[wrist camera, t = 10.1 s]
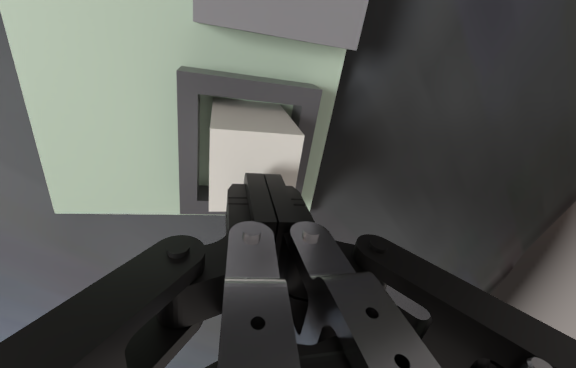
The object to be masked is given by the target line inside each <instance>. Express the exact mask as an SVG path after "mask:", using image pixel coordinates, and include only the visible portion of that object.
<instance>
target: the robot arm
mask: <svg viewBox="0 0 576 368" xmlns="http://www.w3.org/2000/svg"><path fill="white" fill-rule="evenodd" d="M387 285H389V286H390V287H392V288H394V289H395V290H397V291H398V292H400V293H402V294H403V295H405V296H406V297H408V298H410V299H411V300H413V301H415V302H416V303H418V304H419V305H421V306H423V307H424V308H425V309H427V310H428V312H429V313H430V315H431V317H430V318H429V319H428V320H419V319H417V318H415V317H414V316H412V315H411V314H409V313H408V312H406V311H405V310H403V309H401V308H400V307H398V306H397V305H396V304H395V303H394V301H393V300H392V298H391V297H390V296H389V294H388V293H387V292H386V290H385V289H386V287H387ZM219 314H222V319H221V330H220V342H219V354H218V361H217V362H214V363H213V364H211V365H209V366H207V367H205V368H576V340H575V339H573V338H571V337H569V336H567V335H565V334H564V333H562V332H560V331H558V330H556V329H554V328H552V327H550V326H548V325H547V324H545V323H543V322H541V321H539V320H537V319H535V318H533V317H531V316H529V315H528V314H526V313H524V312H522V311H520V310H518V309H516V308H515V307H513V306H511V305H509V304H507V303H505V302H503V301H501V300H499V299H498V298H496V297H494V296H492V295H490V294H488V293H486V292H484V291H482V290H481V289H479V288H477V287H475V286H473V285H471V284H469V283H467V282H465V281H464V280H462V279H460V278H458V277H456V276H454V275H452V274H450V273H449V272H447V271H445V270H443V269H441V268H439V267H437V266H435V265H433V264H432V263H430V262H428V261H426V260H424V259H422V258H420V257H418V256H416V255H415V254H413V253H411V252H409V251H407V250H405V249H403V248H401V247H399V246H398V245H396V244H394V243H392V242H390V241H388V240H386V239H384V238H382V237H379V236H376V235H369V234H368V235H362V236H360V237H358V239H357V241H356V244H355V245H353V244H348V243H343V242H339V241H335V240H334V238H333V237H332V235H331V234H330V232H329V231H328V230H327V229H326V228H325V227H323V226H321V225H319V224H317V223H315V222H314V220H313V218H312V216H311V214H310V212H309V210H308V208H307V206H306V204H305V202H304V200H303V198H302V195H301V193H300V192H299V191H298V190H297V189H295V188H294V187H293V186H286V185H285V183H284V181H283V178H282V176H281V174H262V173H245V177H244V184H232V185H231V186H230V187H229V189H228V192H227V207H226V236H225V237H224V238H223V239H221V240H219V241H217V242H215V243H212V244H208V245H204V244H203V243H202V242H201V241H200V240H198V239H197V238H194V237H191V236H186V235H178V236H172V237H168V238H165V239H163V240H161V241H159V242H158V243H156V244H155V245H153V246H152V247H150V248H148V249H147V250H145V251H144V252H142V253H141V254H139V255H137V256H136V257H134V258H133V259H131V260H130V261H128V262H126V263H125V264H123V265H122V266H120V267H119V268H117V269H115V270H114V271H112V272H111V273H109V274H108V275H106V276H104V277H103V278H101V279H100V280H98V281H97V282H95V283H93V284H92V285H90V286H89V287H87V288H85V289H84V290H82V291H81V292H79V293H78V294H76V295H74V296H73V297H71V298H70V299H68V300H67V301H65V302H63V303H62V304H60V305H59V306H57V307H56V308H54V309H52V310H51V311H49V312H48V313H46V314H45V315H43V316H41V317H40V318H38V319H37V320H35V321H34V322H32V323H30V324H29V325H27V326H26V327H24V328H23V329H21V330H19V331H18V332H16V333H15V334H13V335H12V336H10V337H8V338H7V339H5V340H4V341H2V342H1V343H0V368H165V367H166V365H167V364H168V363H169V362H170V361H171V360H172V359H173V358H174V356H175V355H176V354H177V353H178V352H179V351H180V350H181V349H182V348H183V346H184V345H185V344H186V343H187V342H188V341H189V340H190V339H191V337H192V336H193V335H194V334H195V333H196V332H197V331H198V330H199V328H200V327H201V325H202V322H203V321H204V320H206V319H209V318H212V317H214V316H217V315H219Z"/></svg>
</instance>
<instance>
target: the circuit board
mask: <svg viewBox="0 0 576 368" xmlns="http://www.w3.org/2000/svg"><path fill="white" fill-rule="evenodd" d="M368 2H369V0H0V11H1V15H2V19H3V22H4V26H5V30H6V34H7V37H8V41H9V45H10V48H11V52H12V56H13V60H14V63H15V67H16V71H17V74H18V78H19V82H20V86H21V89H22V93H23V97H24V100H25V104H26V108H27V112H28V115H29V119H30V123H31V126H32V130H33V134H34V138H35V141H36V145H37V149H38V152H39V156H40V160H41V164H42V167H43V171H44V175H45V178H46V182H47V186H48V190H49V193H50V197H51V201H52V204H53V208H54V212H55V213H59V214H168V215H203V214H180V195H179V156H178V116H177V76H176V70H177V69H178V68H179V67H181V66H186V67H194V68H201V69H208V70H215V71H222V72H230V73H237V74H244V75H251V76H259V77H266V78H273V79H280V80H287V81H295V82H302V83H309V84H313V85H315V86H317V87H319V88H320V89H322V90H323V91H322V96H321V101H320V106H319V111H318V116H317V121H316V126H315V130H314V135H313V140H312V145H311V150H310V155H309V160H308V165H307V170H306V174H305V179H304V184H303V189H302V194H301V195H302V198H303V200H304V202H305V204H306V206H307V208H308V210H309V212H310V208H311V204H312V199H313V195H314V190H315V186H316V182H317V177H318V173H319V168H320V164H321V160H322V155H323V151H324V146H325V142H326V138H327V133H328V129H329V124H330V120H331V116H332V111H333V107H334V102H335V98H336V94H337V89H338V85H339V80H340V76H341V72H342V67H343V63H344V58H345V54H346V50H347V49H349V50H356V51H357V47H358V43H359V39H360V35H361V31H362V26H363V22H364V18H365V14H366V10H367V6H368ZM213 97H215V98H224V99H234V100H244V101H254V100H245V99H236V98H228V97H219V96H210V95H202V94H200V152H199V185H204V186H209V152H210V122H211V113H212V103H213ZM254 102H262V101H254ZM264 103H271V102H264ZM274 104H280V103H274ZM280 105H281V106H282V108H283V109H284V110H285V111H286V113H287V114H288V115H289V116H290V118H291V116H292V110H293V105H288V104H280Z"/></svg>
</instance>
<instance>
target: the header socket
mask: <svg viewBox="0 0 576 368" xmlns="http://www.w3.org/2000/svg"><path fill="white" fill-rule="evenodd" d="M176 76H177V116H178V156H179V195H180V214H203V215H226V212H209V186H204V185H199V152H200V94H202V95H210V96H219V97H228V98H236V99H245V100H254V101H262V102H271V103H280V104H288V105H293V110H292V116H291V119H292V120H293V121H294V123H295V124H296V125H297V126H298V128H299V129H300V130H301V131H302V133H303V134H304V135H305V137H304V142H303V148H302V154H301V159H300V165H299V171H298V176H297V182H296V188H295V189H297V190H298V191H299V192H300V193H301V194H302V189H303V184H304V179H305V174H306V170H307V165H308V160H309V155H310V150H311V145H312V140H313V135H314V130H315V126H316V121H317V116H318V111H319V106H320V101H321V96H322V91H323V90H322V89H320V88H319V87H317V86H315V85H313V84H309V83H302V82H295V81H287V80H280V79H273V78H266V77H259V76H251V75H244V74H237V73H230V72H222V71H215V70H208V69H201V68H194V67H186V66H181V67H179V68H178V69H177V70H176Z"/></svg>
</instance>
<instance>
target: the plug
mask: <svg viewBox="0 0 576 368" xmlns="http://www.w3.org/2000/svg"><path fill="white" fill-rule="evenodd" d="M304 137H305V135H304V134H303V133H302V131H301V130H300V129H299V128H298V126H297V125H296V124H295V123H294V121H293V120H292V119H291V118H290V116H289V115H288V114H287V113H286V111H285V110H284V109H283V108H282V106H281V105H280V104H274V103H264V102H254V101H244V100H234V99H224V98H215V97H213V103H212V113H211V122H210V152H209V212H226V207H227V192H228V189H229V187H230V186H231V185H232V184H244V177H245V173H262V174H281V176H282V178H283V181H284V183H285V185H286V186H293V187H294V188H296V182H297V176H298V171H299V165H300V159H301V154H302V148H303V142H304Z"/></svg>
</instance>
